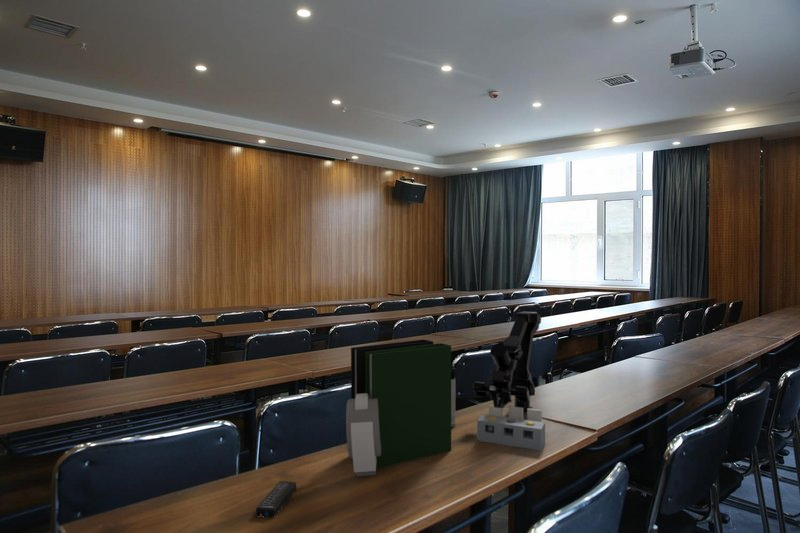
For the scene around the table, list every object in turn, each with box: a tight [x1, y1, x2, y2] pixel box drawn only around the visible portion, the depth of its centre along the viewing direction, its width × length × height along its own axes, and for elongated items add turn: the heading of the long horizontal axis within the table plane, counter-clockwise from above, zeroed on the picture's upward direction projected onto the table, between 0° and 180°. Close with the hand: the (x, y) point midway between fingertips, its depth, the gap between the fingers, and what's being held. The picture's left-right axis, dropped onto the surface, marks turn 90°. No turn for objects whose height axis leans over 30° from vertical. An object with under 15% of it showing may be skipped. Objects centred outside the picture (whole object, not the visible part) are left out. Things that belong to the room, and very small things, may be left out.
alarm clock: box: [345, 393, 381, 477], centre depth 138 cm, size 18×8×20 cm, turn 1°
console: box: [476, 414, 546, 451], centre depth 158 cm, size 7×20×7 cm, turn 64°
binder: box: [350, 339, 452, 470], centre depth 150 cm, size 27×15×32 cm, turn 123°
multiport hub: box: [255, 480, 297, 517], centre depth 119 cm, size 4×14×2 cm, turn 171°
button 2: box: [508, 405, 524, 431], centre depth 162 cm, size 8×4×6 cm, turn 154°
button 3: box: [526, 408, 543, 434], centre depth 159 cm, size 8×4×6 cm, turn 154°
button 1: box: [487, 406, 504, 431], centre depth 162 cm, size 8×4×6 cm, turn 154°
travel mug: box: [451, 367, 457, 428], centre depth 174 cm, size 6×7×20 cm
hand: (496, 413), depth 165 cm, fingers closed, pressing on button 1
